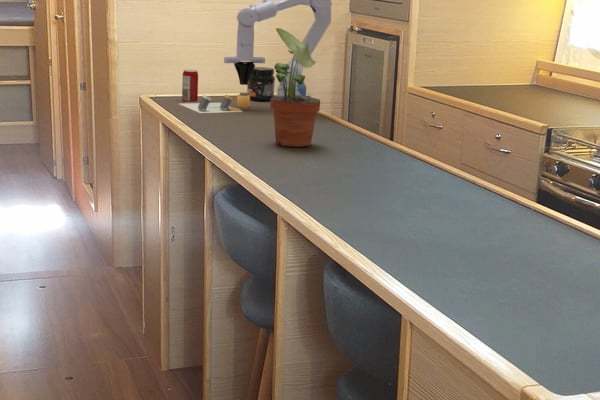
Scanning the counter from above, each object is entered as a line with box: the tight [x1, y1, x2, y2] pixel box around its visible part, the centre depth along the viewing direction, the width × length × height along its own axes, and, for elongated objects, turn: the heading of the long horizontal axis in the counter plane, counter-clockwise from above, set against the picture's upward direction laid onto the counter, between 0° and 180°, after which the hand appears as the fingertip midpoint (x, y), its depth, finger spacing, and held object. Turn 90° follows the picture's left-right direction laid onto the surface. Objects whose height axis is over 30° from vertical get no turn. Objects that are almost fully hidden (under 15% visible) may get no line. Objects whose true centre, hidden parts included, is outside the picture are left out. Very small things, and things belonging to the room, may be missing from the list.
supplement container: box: [246, 66, 276, 103], centre depth 338 cm, size 10×10×12 cm
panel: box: [179, 102, 244, 114], centre depth 307 cm, size 20×16×2 cm
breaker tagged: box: [220, 94, 234, 111], centre depth 302 cm, size 4×2×5 cm, turn 29°
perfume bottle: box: [297, 81, 307, 96], centre depth 335 cm, size 6×6×12 cm
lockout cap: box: [236, 91, 251, 108], centre depth 313 cm, size 4×4×6 cm
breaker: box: [198, 94, 212, 111], centre depth 299 cm, size 4×2×5 cm, turn 28°
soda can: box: [181, 69, 199, 103], centre depth 321 cm, size 6×6×12 cm
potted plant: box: [269, 27, 321, 148], centre depth 251 cm, size 16×15×35 cm
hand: (243, 84), depth 304 cm, fingers closed
